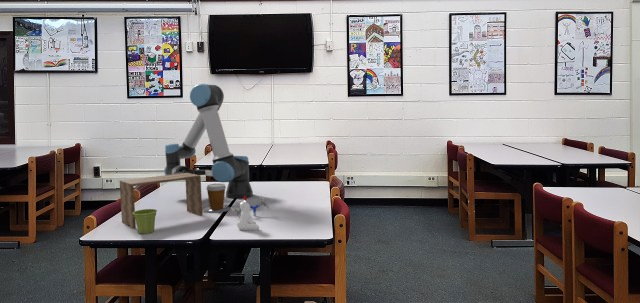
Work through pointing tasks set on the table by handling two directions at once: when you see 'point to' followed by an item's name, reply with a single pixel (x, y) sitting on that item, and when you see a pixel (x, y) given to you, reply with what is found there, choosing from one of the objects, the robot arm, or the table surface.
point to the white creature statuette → (246, 218)
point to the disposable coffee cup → (216, 196)
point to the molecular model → (251, 206)
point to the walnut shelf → (191, 182)
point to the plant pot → (145, 220)
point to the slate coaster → (208, 210)
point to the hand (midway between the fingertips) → (200, 175)
